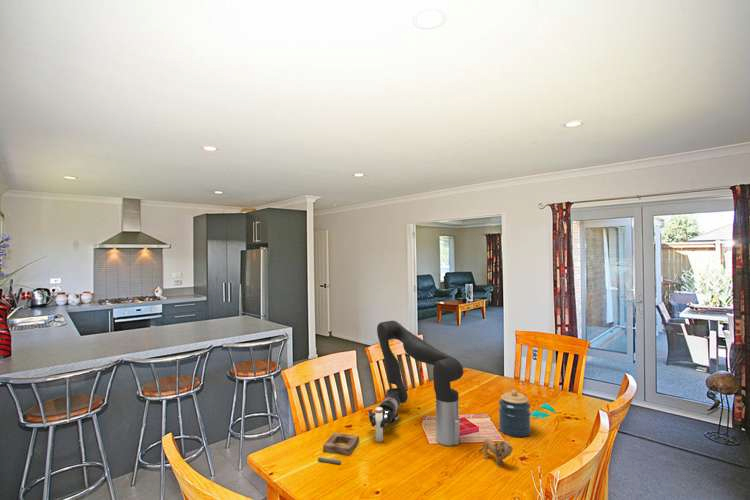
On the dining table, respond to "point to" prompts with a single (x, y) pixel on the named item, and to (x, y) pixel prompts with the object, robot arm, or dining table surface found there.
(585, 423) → the dining table surface
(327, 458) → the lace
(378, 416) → the slim white bottle
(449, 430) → the robot arm
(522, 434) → the canister
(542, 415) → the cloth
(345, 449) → the brown square frame
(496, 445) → the lion figurine
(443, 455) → the dining table surface
